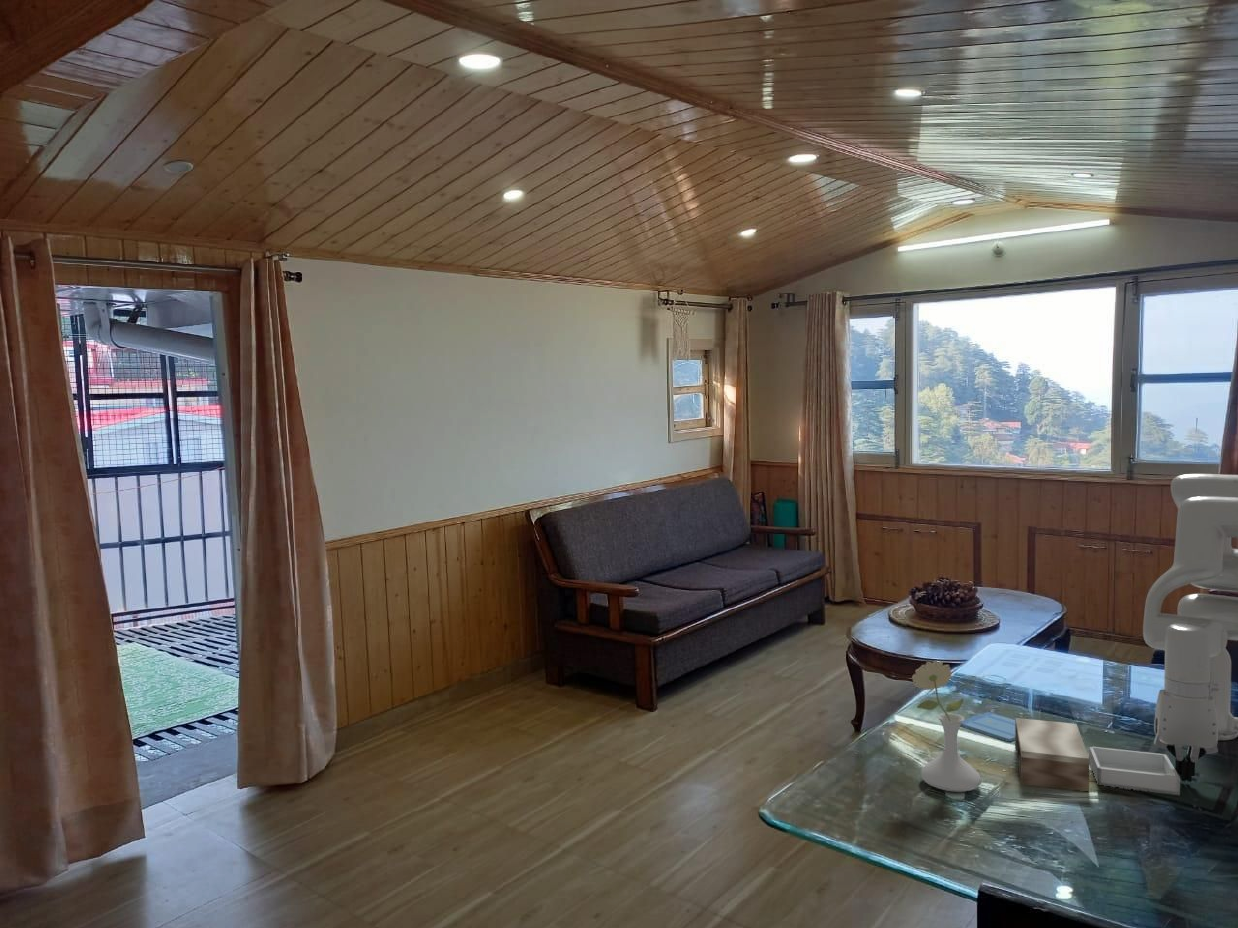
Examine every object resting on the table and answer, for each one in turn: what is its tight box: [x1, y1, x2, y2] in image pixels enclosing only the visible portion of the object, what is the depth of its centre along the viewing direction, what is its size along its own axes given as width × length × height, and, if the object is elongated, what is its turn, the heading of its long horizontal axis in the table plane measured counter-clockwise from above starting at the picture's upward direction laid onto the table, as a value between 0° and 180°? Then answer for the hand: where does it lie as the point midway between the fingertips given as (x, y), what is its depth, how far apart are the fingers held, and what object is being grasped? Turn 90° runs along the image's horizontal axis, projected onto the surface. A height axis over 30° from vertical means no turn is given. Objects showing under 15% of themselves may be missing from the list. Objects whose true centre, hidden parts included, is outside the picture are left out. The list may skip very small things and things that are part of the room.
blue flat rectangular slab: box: [960, 711, 1015, 742], centre depth 206 cm, size 14×12×1 cm
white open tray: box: [1088, 745, 1181, 796], centre depth 177 cm, size 14×12×4 cm
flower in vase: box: [911, 660, 982, 793], centre depth 175 cm, size 13×11×25 cm
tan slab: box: [1014, 717, 1090, 793], centre depth 182 cm, size 12×20×7 cm, turn 159°
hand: (1184, 778), depth 174 cm, fingers closed
